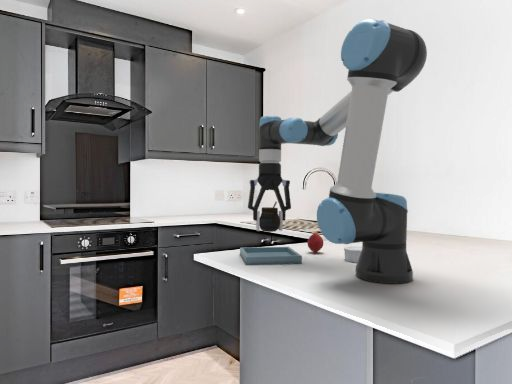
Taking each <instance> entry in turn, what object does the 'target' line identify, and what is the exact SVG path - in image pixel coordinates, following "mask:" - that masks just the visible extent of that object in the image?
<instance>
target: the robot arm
mask: <svg viewBox="0 0 512 384" xmlns="http://www.w3.org/2000/svg"><path fill="white" fill-rule="evenodd" d="M427 49H428V48H427V45H426V42H425V41H424V39H423V37H422V36H421V35H419V33H418V32H416V31H414V30H411V29H408V28H404V27H400V26H399V25H398V26H397V25H395V24H392V23H389V22H387V21H386V20H378V19H375V18H374V19H373V18H367V19H364V20H361V21H359V22H358V23H356V24H355V25H354V26H353V27H352V28H351V29H350V30H349V31H348V32H347V34H346V36H345V39H344V40H343V43H342V46H341V49H340V60H341V61H342V65H343V66H344V67H345V68H346V69H347V70H348V71H347V72H348V73H347V79H346V80H347V81H348V83H349V84H350V86H351V91H350V92H348V93H347V94H346V95H345V96H343V97H342V99H340V100H339V101H338V102H337V103H335V104H334V105H333V106H332V107H331V108H330V109H329V110H327V111H326V112H325V113H324V114H323V115H322V116H321V117H320V118H318V119H317V120H316V121H311V120H303V119H302V118H301V117H288V118H286V119H282V118H281V116H277V115H264V116H261V117H260V119H259V126H258V162H260V163H259V164H258V176H257V178H256V179H250V180H249V186H250V187H249V188H250V189H249V195H248V203H247V208H248V209H249V210H251V211H252V220H253V221H255V230H256V231H257V232H260V216H261V214H260V212H261V211H260V210H258V209H259V207H260V204H261V202H262V199H263V197H264V194H265V192H266V191H273V192H274V193H275V197H276V200H277V203H278V204H279V208H280V210H278V216H279V219H280V226H279V229H278V231H280V232H282V231H283V221H286V212H287V211H289V210H291V209H292V204H291V203H292V202H291V197H290V195H291V194H290V184H291V181H290V180H287V179H283V178H282V164H281V163H280V162H282V145H283V144H297V145H311V146H320V147H325V146H327V147H328V146H331V145H335V143H336V141H337V140H338V135H339V133H340V132H342V131H343V130H344V129H345V132H344V136H343V145H342V149H341V150H342V151H341V155H340V156H341V157H340V163H339V168H338V169H339V170H338V175H337V182H336V183H335V184H334V185H332V186H331V187H330V188H329V194H328V197H327V198H325V199H323V200H321V202H320V203H319V204H318V206H317V209H316V222H317V227H318V229H319V230H320V233H321V234H322V236H323V237H324V238H325V239H326V240H327V241H328V242H331V243H332V244H335V245H336V244H337V245H338V244H339V245H350V244H355V243H362V245H361V246H362V251H361V254H360V256H359V259H358V262H357V263H356V265H355V277H357V278H358V279H361V280H364V281H366V282H367V281H368V282H373V283H380V284H405V283H406V284H407V283H410V282H412V281H413V279H414V271H413V268H412V264H411V261H410V258H409V255H408V252H407V240H408V239H407V236H408V234H407V230H408V212H409V210H408V201H407V199H406V197H405V196H403V195H399V194H394V193H383V192H375V191H374V190H373V188H372V187H373V181H374V176H375V169H376V163H377V160H378V159H377V158H378V153H379V149H380V147H379V146H380V142H381V137H382V131H383V125H384V119H385V114H386V107H387V102H388V97H389V95H391V93H394V92H395V93H396V92H397V93H398V92H400V91H402V90H403V89H404V88H406V87H407V86H409V85H410V84H411V83H412V82H413V81H414V80H415V79H416V78H417V77H418V76H419V75H420V74H421V72H422V70H423V69H424V67H425V64H426V61H427V55H428V52H427V51H428V50H427ZM257 183H258V184H259V186H260V190H259V192H258V195H257V197H256V200H255V202H254V198H255V192H256V191H255V189H256V186H257V185H258V184H257ZM281 184H282V186H283V192H284V200H283V197H282V195H281V192H280V189H279V186H280V185H281ZM284 201H285V203H284Z"/></svg>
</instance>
